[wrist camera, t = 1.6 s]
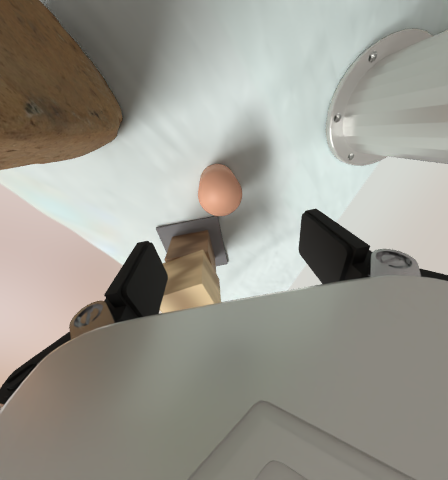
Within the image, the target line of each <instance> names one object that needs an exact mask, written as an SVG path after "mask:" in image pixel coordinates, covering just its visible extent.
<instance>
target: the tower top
mask: <svg viewBox="0 0 448 480" xmlns="http://www.w3.org/2000/svg"><path fill="white" fill-rule="evenodd" d="M163 266H164V268H165V270H166V272H167V274H168V280H167V284H166V288H165V292H164V295H163V299H162V303H161V306H160V311H161V312H162V313H166V312H171V311H177V310H182V309H188V308H193V307H198V306H204V305H209V304H214V303H220V302H221V297H220V285H219V278H218V276H217V274H216V273H215V271H214V269H213V267H212V265H211V263H210V261H209V260H208V258H207V256H206V254H205V252H204V250H200V251H197V252H194V253H192V254H189V255H186V256H183V257H180V258H177V259H174V260H171V261H169V262H166V263H163Z"/></svg>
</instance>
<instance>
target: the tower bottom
mask: <svg viewBox="0 0 448 480" xmlns="http://www.w3.org/2000/svg"><path fill="white" fill-rule="evenodd" d="M200 250H204V252H205V254H206V256H207V258H208V260H209V261H210V263H211V265H212V267H213V269H214V271H215V273H216V264H215V255H214V252H213V248H212V244H211V240H210V236H209V232H208V230H205V231H200V232H195V233H189V234H184V235H179V236H174V237H172V239H171V242H170V245H169V248H168V251H167V254H166V257H165V262H169V261H171V260H174V259H177V258H180V257H183V256H186V255H189V254H192V253H194V252H197V251H200Z"/></svg>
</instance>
